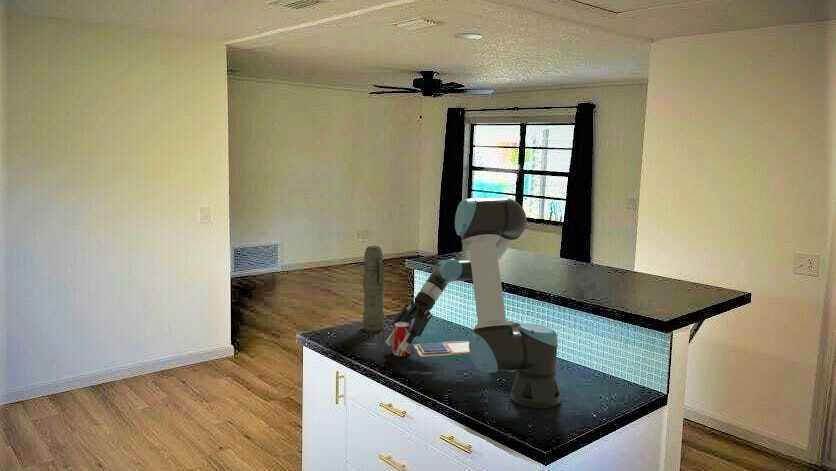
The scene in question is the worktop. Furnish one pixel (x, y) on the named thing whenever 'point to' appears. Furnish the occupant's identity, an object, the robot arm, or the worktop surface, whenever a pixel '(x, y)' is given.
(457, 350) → the orange bordered square plate
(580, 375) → the worktop surface
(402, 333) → the soda can
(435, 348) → the ink pad
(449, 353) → the blotter board
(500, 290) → the robot arm
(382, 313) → the thermos
